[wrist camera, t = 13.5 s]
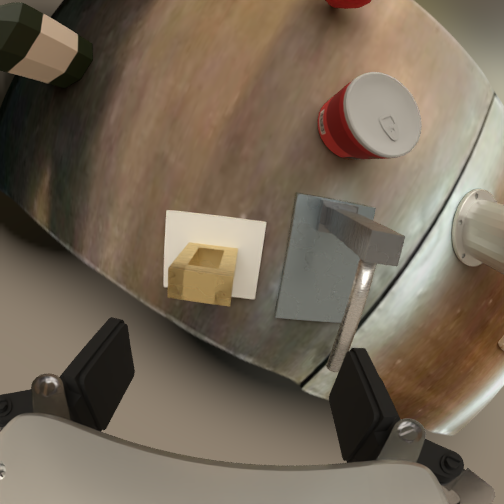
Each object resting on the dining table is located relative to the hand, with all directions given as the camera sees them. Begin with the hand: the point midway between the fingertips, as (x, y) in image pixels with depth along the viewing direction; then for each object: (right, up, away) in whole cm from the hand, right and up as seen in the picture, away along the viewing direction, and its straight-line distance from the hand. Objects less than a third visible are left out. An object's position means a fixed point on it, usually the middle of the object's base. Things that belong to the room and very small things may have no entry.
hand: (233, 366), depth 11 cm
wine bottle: (-25, +32, +15) cm, 44 cm away
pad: (-4, +4, +23) cm, 24 cm away
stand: (+10, +3, +24) cm, 26 cm away
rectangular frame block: (-4, +4, +23) cm, 23 cm away
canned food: (+12, +20, +19) cm, 30 cm away
